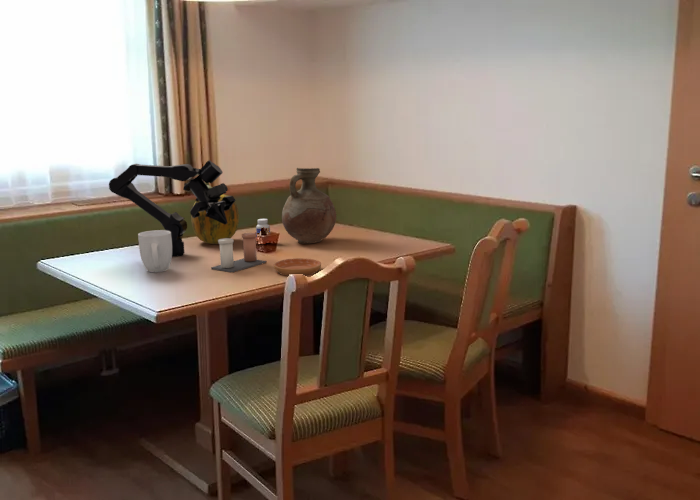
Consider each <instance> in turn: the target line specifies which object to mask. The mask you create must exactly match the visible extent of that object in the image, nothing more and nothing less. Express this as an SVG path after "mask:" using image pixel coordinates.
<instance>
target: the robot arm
mask: <svg viewBox="0 0 700 500" xmlns="http://www.w3.org/2000/svg"><path fill="white" fill-rule="evenodd" d="M222 174H223V170H222V169H221V167H220V166H219V165H217V164H215V163H214V162H213V161H212V160H209V159H208V160H207V161H206V162H205V164H204V165H203V166H202V167H201V168H197V167H196V168H195V167H193V166H192V165H191V164H190V163H189V164H188V163H185V164H176V165H170V166H169V165H156V164H155V165H151V164H140V163H132V164H131V165H129V166H128V168H126V170H124V171H123V172H122V173H120V174H119V175H118V176H116V177H114V178H112V179H111V180H109V183H108V189H109V190H110V192H111V193H113V194H115V195H117V196H118V197H122V198H125V199H127V200H129V201H131V202H132V203H134V204H135V205H136V206H137V207H139V208H141V209H142V210H143V211H144V212H146V213H147V214H149V216H152V217H153V218H154V220H157V221H158V222H160V225H161V226H162V227H163V230H166V231H170V232H171V238H172V257H183V256H184V254H185V242H184V241H183V237H184V236H183V235H184V233H185V232H186V231H187V230H188V222H187V221H186V220H185V217H182V216H181V215H180V214H179V213H178V212H173V213H169V212H168V211H167V210H164V209H163V208H162V207H161V206H159V205H158V204H157V203H155V202H154V201H152V200H151V199H150V198H148V197H147V196H146V195H145V194H143V193H141V191H138V190H137V187H135V185H134V183H133V182H134V180H135V179H136V178H137V177H138V176H145V177H146V176H147V177H149V176H150V177H160V178H161V177H162V178H163V177H164V178H170V179H172V180H174V181H179V182H184V184H183V191H185V192H190V191H191V192H192V194H193V195H194V197H195V198H196V199H195V202H196V203H195V202H194V203H195V204H194V203H193V205H194V206H192V207H191V209H190V210H189V213H190V215H192V217H193V218H196V217H199V215H200V214H199V211H200V212H201V211H206V213H207V214H206V215H205V216H206V217H209V218H212V219H214V220H216V221H218V222H220V223H222V224H227V223H228V222H227V219H226V215H225V212H224V211H228V210H229V209H230V208H231V206H232V205H233V203H234V202H235V203H236V201H237V200H236V198H235V197H234V196H233V195H228V196H227V197H223V199H222V200H221V201H220V202H218V200H219V199H220V198H221V197H220V196H221V195H222V194H224V195H226V194H227V192H228V190H229V189H228V186H227V185H226V183H224V182H223V183H220V184H218V185H215V186H211V187H212V188H208V186H207V185H206V184H205V182H206V183H209V184H213V183H214V182H215V181H216V180H217V179H218V178H219V177H220V176H221V175H222ZM194 177H195V178H194ZM186 181H188V182H186ZM185 182H186V183H185Z"/></svg>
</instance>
